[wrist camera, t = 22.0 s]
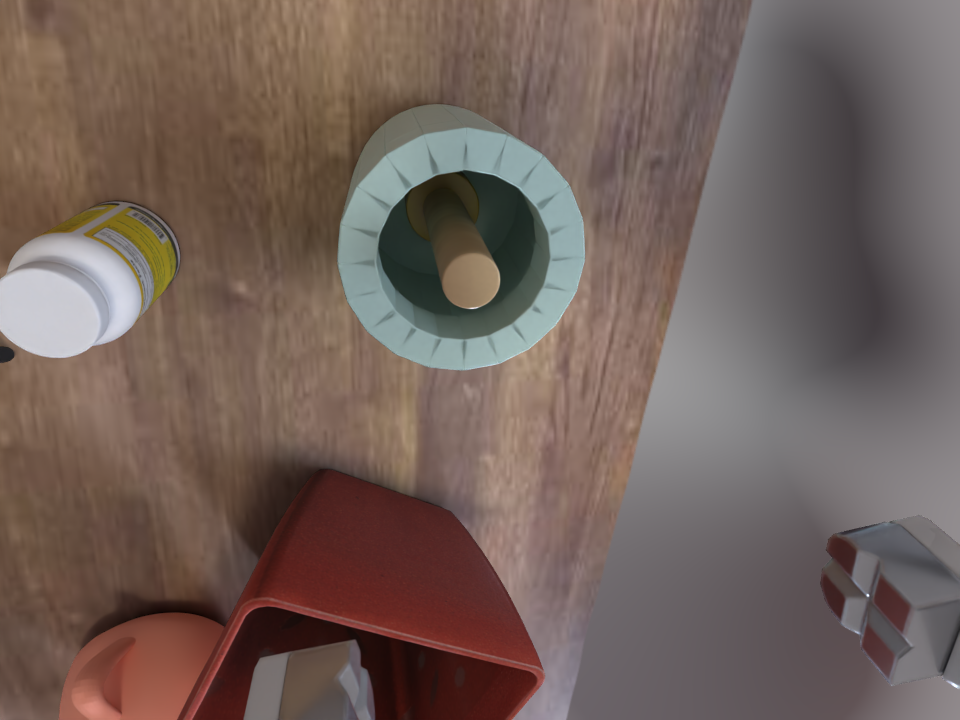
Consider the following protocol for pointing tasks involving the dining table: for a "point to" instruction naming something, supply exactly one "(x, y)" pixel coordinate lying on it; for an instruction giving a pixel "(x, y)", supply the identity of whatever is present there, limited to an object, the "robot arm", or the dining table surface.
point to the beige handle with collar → (454, 237)
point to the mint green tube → (501, 223)
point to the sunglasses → (6, 354)
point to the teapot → (139, 669)
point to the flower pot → (377, 609)
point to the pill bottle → (87, 279)
